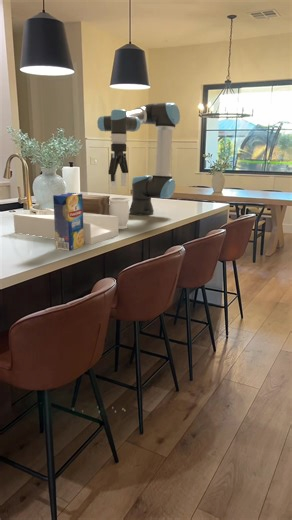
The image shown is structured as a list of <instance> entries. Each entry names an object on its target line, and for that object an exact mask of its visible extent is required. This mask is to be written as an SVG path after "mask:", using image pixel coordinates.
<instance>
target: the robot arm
mask: <svg viewBox="0 0 292 520" xmlns="http://www.w3.org/2000/svg"><path fill="white" fill-rule="evenodd" d="M110 113H111V114H110V115H102V116H99V117H98V118H97V122H96V123H97V128H98V130H99V131H101V132H105V133H106V132H110V133H111V134H110V142H111V144H110V151H111V153H110V160H109V161H110V162H109V167H108V173H107V174H108V175H110V189H117V170H118V167H120V168H119V169H120V171H121V172H120V186H121V187H127V174H129V167H128V160H127V153H125V152H127V139H128V138H127V132H134V133H135V132H137V131H139V130H140V127H141V126H142V125H155V126H154V127H155V129H156V130H157V136H156V137H157V139H156V153H155V154H156V156H155V169H154V170H155V171H154V173H153V174H152V175H151V174H150V175H149V174H147V175H142V176H139V175H138V176H134V177H133V178H132V181H131V186H132V187H131V190H132V192H131V193H132V198H131V200H132V201H131V203H130V206H129V215H134V216H150V215H153V214H154V206H153V204H152V198H155V199H163V200H164V199H170V198H172V196H173V194H174V193H175V190H176V180H175V179H173V176H172V174H171V161H172V160H171V159H172V146H173V145H172V144H173V143H172V142H173V131H174V130H175V129H176V125H179V123H180V119H181V115H180V113H181V112H180V110H179V107H178V105H177V104H176V103H175V102H160V103H159V102H157V103H156V102H155V103H149V104H145V105H141V106H138V107H135V108H134V109H133V110H128V111H127V110H125V109H120V108H119V109H112V110H111V112H110ZM112 152H113V153H112Z"/></svg>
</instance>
